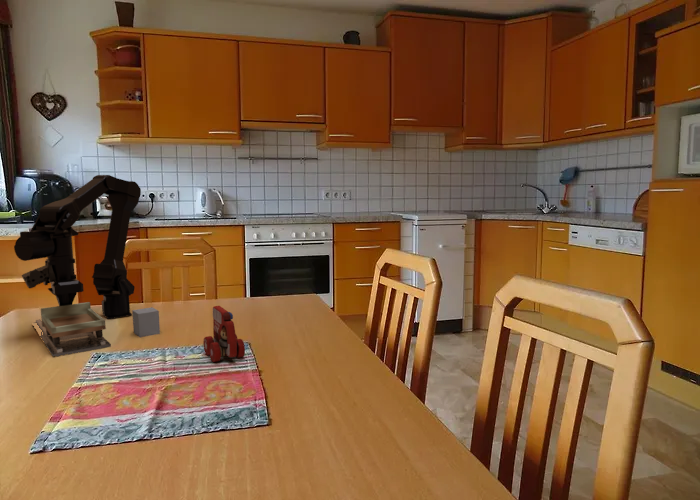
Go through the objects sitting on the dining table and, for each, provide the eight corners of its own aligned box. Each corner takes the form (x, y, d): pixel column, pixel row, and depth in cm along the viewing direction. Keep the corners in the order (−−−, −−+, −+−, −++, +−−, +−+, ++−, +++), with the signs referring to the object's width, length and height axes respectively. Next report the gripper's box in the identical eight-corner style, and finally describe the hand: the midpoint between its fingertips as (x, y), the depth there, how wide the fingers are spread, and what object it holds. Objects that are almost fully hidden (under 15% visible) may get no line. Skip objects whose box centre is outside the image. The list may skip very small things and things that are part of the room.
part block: (153, 329, 138) (152, 307, 137) (159, 333, 134) (158, 310, 133) (133, 333, 135) (132, 310, 134) (139, 337, 131) (138, 313, 130)
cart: (91, 325, 137) (89, 302, 136) (106, 339, 125) (104, 313, 124) (42, 332, 130) (40, 308, 130) (53, 348, 118) (51, 321, 117)
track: (80, 318, 150) (80, 313, 150) (110, 346, 124) (110, 340, 124) (31, 325, 143) (31, 320, 143) (52, 357, 117) (52, 351, 116)
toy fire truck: (216, 367, 110) (214, 318, 108) (201, 350, 120) (199, 306, 119) (249, 361, 113) (247, 313, 112) (231, 346, 124) (229, 302, 122)
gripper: (18, 254, 135) (23, 313, 137) (27, 262, 121) (33, 329, 123) (66, 250, 142) (71, 307, 144) (81, 258, 127) (86, 321, 129)
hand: (65, 315), depth 135 cm, fingers closed
